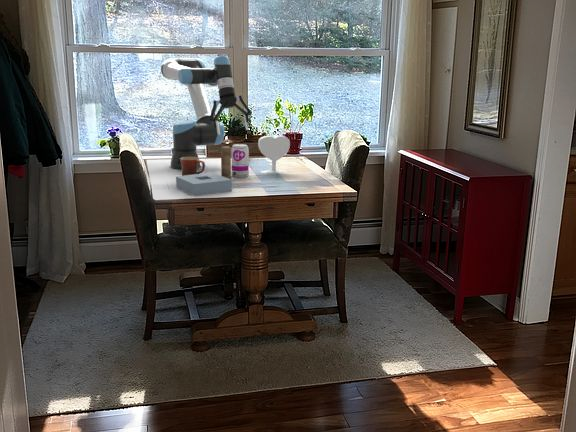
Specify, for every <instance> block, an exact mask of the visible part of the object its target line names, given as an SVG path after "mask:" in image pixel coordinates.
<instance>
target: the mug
mask: <svg viewBox="0 0 576 432" xmlns="http://www.w3.org/2000/svg"><path fill="white" fill-rule="evenodd" d="M180 161H181V164H182V169H181V176H184V175H193V174H203V172H204V171H205V168H206V164H205V161H203V160H200V158H199V156H198V157H182V158H180ZM199 162H200V164H201V165H202V166H201V170H200V171H199V169H198V163H199Z"/></svg>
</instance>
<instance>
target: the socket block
mask: <svg viewBox="0 0 576 432" xmlns="http://www.w3.org/2000/svg"><path fill="white" fill-rule="evenodd" d="M175 188H176V189H179V190H181V191H183V192H185V193H188V194H190V195H192V196H193V197H196V196H203V195H210V194H211V195H212V194H219V193H227V192H232V190H233V180H232V178H231V179H229V178H226V177H223V176H221V174H218V173H215V172H204V173H203V172H202V173H200V174H193V175H184V176H182V175H177V176H175Z"/></svg>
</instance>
